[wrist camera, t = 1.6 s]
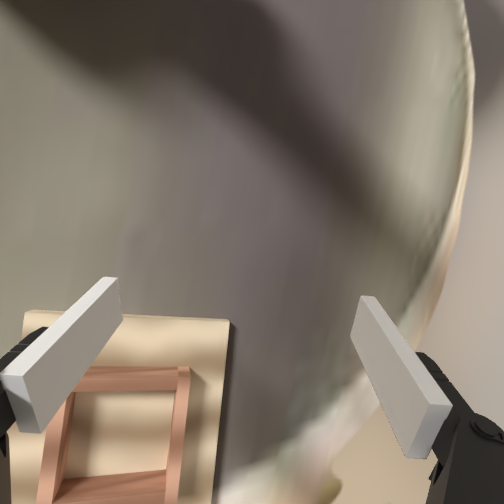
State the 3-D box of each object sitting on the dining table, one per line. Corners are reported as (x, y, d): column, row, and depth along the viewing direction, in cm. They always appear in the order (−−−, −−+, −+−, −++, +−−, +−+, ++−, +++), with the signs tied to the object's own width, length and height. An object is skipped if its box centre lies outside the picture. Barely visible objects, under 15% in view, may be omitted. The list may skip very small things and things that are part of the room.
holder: (32, 309, 28) (7, 318, 24) (227, 319, 34) (235, 327, 29) (-3, 541, 27) (-36, 595, 23) (207, 512, 32) (212, 550, 28)
